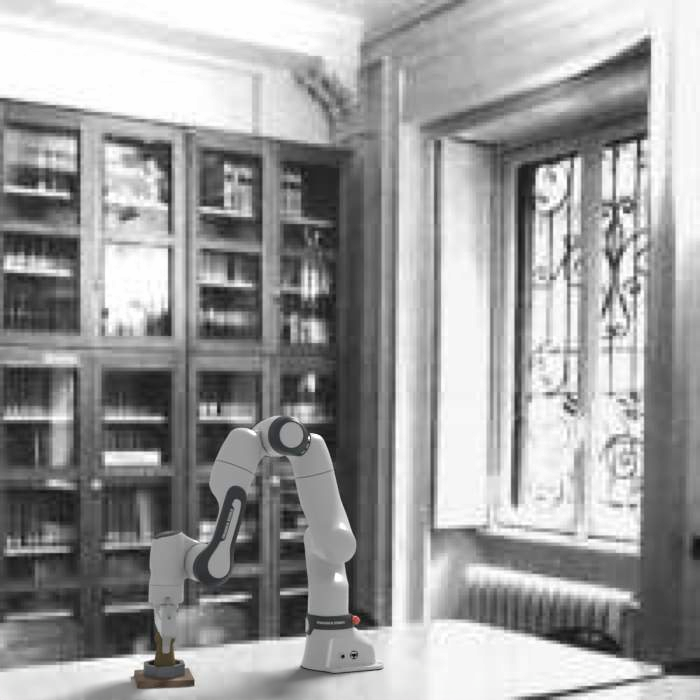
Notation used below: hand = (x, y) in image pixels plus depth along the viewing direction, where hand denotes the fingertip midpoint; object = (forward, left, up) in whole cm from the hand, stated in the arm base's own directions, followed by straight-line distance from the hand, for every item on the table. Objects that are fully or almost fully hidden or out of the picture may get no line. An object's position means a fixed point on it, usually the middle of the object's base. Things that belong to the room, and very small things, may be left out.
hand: (164, 650), depth 278 cm
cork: (0, 0, -6) cm, 6 cm away
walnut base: (0, 0, -8) cm, 8 cm away
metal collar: (0, 0, -6) cm, 6 cm away
